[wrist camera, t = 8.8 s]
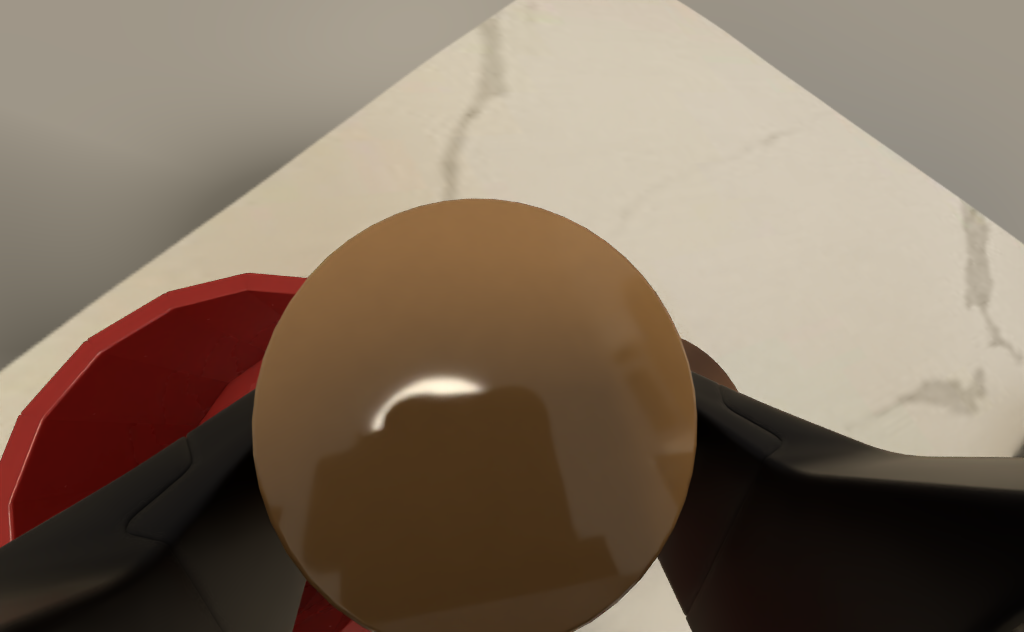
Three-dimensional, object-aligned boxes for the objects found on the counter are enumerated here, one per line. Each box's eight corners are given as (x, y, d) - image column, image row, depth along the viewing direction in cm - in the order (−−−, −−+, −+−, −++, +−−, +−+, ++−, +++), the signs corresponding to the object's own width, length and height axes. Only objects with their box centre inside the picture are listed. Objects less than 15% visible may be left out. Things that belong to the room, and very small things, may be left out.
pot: (530, 422, 22) (577, 416, 14) (226, 728, 16) (28, 995, 9) (386, 261, 23) (358, 176, 16) (57, 490, 18) (-245, 534, 10)
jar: (583, 382, 13) (748, 319, 6) (500, 557, 11) (598, 772, 4) (436, 296, 13) (427, 132, 6) (327, 455, 11) (122, 489, 4)
